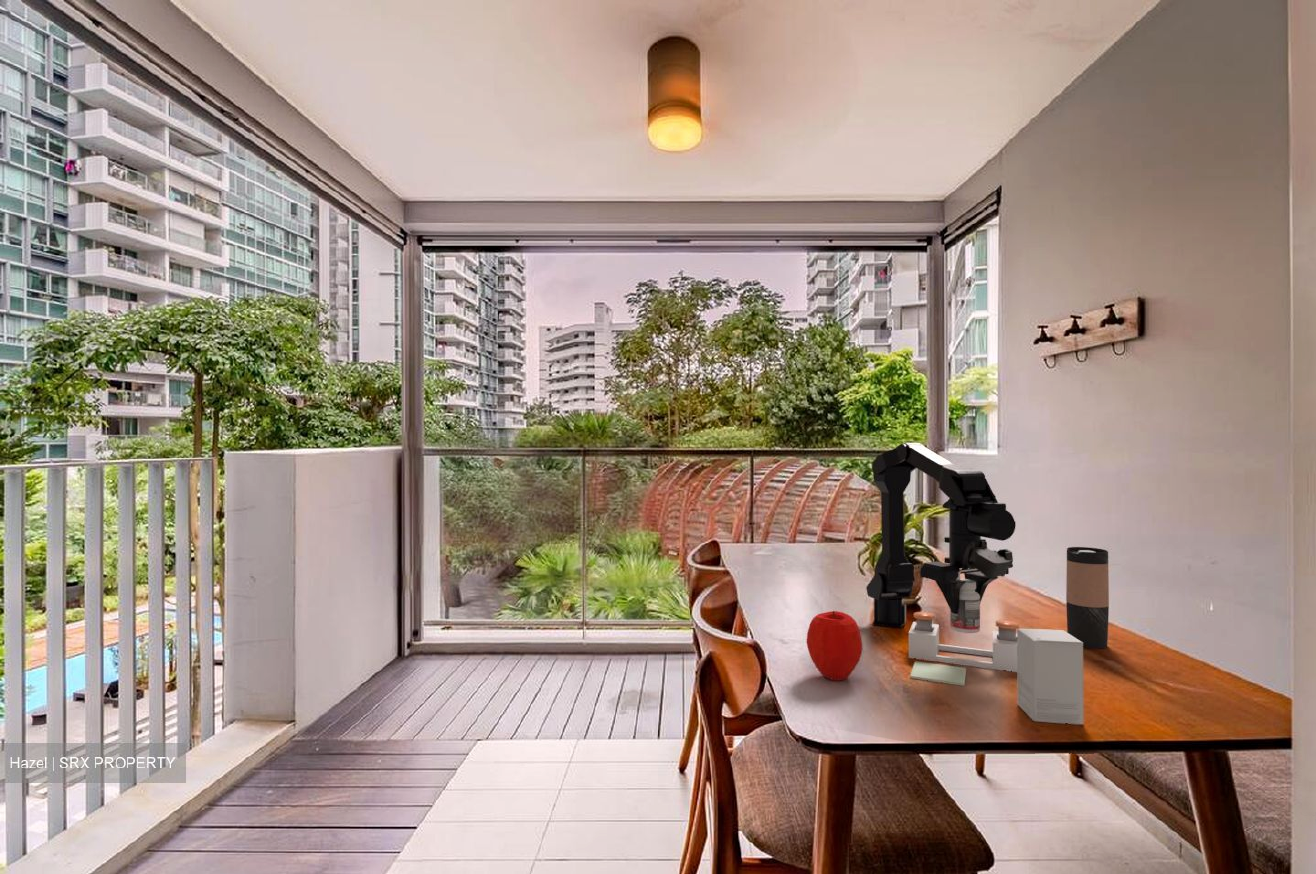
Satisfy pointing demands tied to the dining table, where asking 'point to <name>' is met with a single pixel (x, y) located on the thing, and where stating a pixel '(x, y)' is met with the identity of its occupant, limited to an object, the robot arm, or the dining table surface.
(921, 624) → the plunger left
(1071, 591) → the travel mug
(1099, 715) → the dining table surface
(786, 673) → the dining table surface
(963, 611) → the pill bottle
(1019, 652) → the supplement box
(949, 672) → the mat
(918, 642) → the holder
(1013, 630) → the plunger right
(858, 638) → the apple
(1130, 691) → the dining table surface
